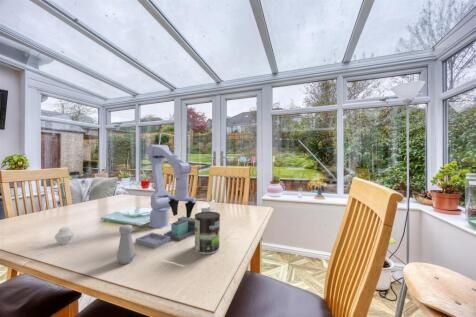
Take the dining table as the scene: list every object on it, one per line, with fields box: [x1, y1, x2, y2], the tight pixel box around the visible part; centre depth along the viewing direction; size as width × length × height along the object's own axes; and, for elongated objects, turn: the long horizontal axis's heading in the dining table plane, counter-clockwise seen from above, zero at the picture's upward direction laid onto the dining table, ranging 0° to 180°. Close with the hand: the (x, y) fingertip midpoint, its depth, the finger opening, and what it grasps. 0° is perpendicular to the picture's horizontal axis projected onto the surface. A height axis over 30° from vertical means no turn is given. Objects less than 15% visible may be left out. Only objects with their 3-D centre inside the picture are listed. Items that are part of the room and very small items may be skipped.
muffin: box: [54, 226, 74, 246], centre depth 89 cm, size 6×6×7 cm
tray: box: [135, 232, 172, 249], centre depth 91 cm, size 12×9×2 cm
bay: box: [163, 216, 195, 242], centre depth 100 cm, size 12×15×6 cm
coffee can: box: [194, 211, 221, 255], centre depth 86 cm, size 10×10×14 cm
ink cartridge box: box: [200, 198, 216, 212], centre depth 109 cm, size 9×5×15 cm, turn 168°
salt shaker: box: [116, 224, 136, 265], centre depth 75 cm, size 6×6×13 cm
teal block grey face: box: [170, 219, 188, 237], centre depth 99 cm, size 4×7×6 cm, turn 154°
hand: (181, 216), depth 99 cm, fingers open, 7 cm apart
